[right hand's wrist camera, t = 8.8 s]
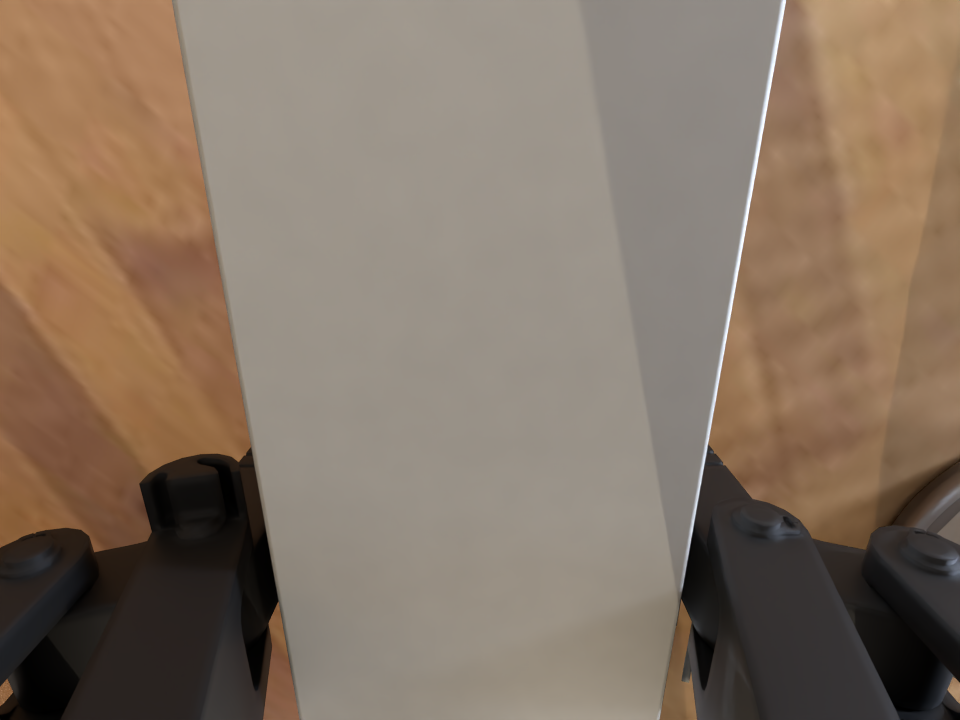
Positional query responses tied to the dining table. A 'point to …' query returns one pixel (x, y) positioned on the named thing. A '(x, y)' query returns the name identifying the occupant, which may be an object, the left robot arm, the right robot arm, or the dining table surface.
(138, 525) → the dining table surface
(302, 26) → the bar
